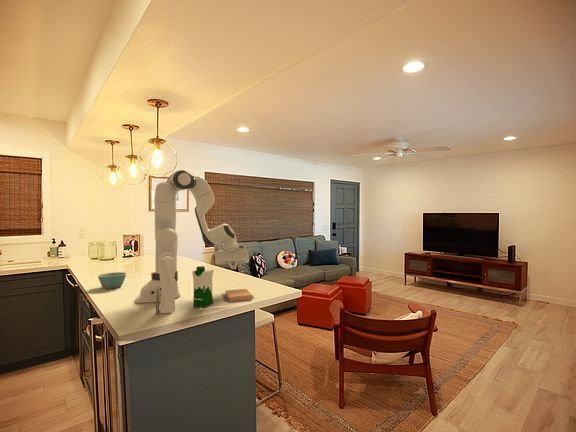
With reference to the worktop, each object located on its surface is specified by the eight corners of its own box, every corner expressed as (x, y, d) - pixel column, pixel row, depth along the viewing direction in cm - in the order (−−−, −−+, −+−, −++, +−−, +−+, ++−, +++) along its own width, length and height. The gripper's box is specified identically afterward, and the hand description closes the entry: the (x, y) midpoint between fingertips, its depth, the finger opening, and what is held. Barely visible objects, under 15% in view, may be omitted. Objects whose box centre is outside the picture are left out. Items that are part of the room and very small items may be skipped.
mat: (225, 302, 156) (225, 301, 156) (220, 294, 171) (220, 293, 171) (254, 299, 162) (254, 298, 162) (248, 292, 177) (248, 291, 177)
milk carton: (190, 307, 149) (190, 267, 148) (201, 302, 157) (201, 264, 157) (205, 309, 146) (205, 268, 146) (215, 303, 154) (215, 265, 154)
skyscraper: (161, 309, 147) (160, 252, 146) (178, 309, 147) (177, 252, 147) (154, 315, 138) (154, 254, 138) (172, 314, 139) (172, 254, 139)
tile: (225, 295, 169) (229, 301, 156) (225, 290, 169) (229, 297, 156) (246, 292, 173) (251, 299, 160) (246, 288, 173) (251, 294, 160)
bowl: (105, 284, 197) (105, 272, 197) (130, 283, 199) (130, 271, 198) (92, 290, 181) (92, 277, 181) (120, 290, 183) (119, 276, 183)
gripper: (214, 247, 179) (216, 266, 170) (247, 246, 186) (251, 264, 177) (213, 253, 184) (215, 272, 174) (246, 252, 191) (249, 270, 182)
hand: (233, 268), depth 176 cm, fingers closed
